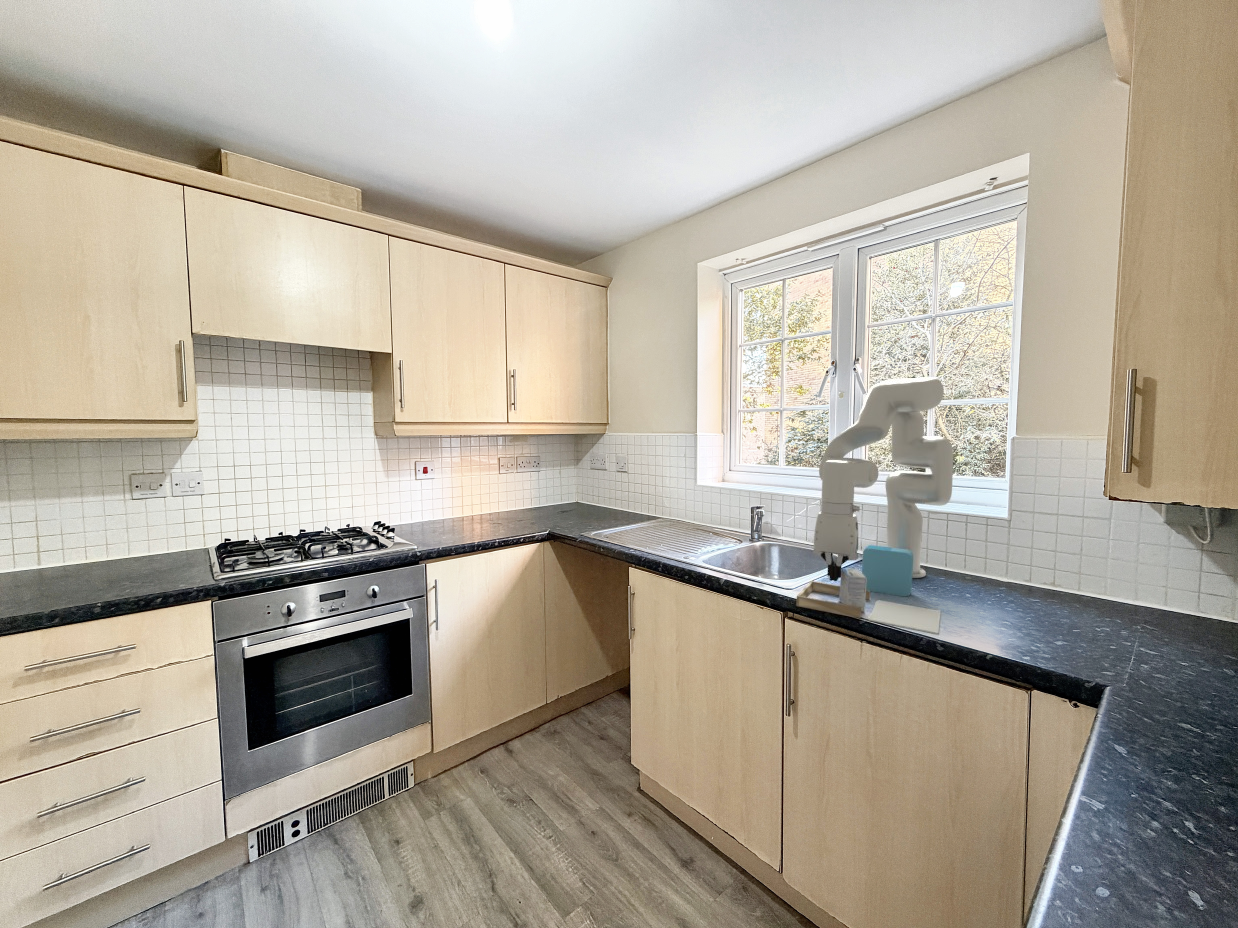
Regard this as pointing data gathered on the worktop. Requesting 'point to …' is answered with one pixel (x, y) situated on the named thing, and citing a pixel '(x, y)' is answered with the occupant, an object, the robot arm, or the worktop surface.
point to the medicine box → (853, 588)
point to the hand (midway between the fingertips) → (834, 579)
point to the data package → (888, 570)
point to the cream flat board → (906, 616)
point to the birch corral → (827, 605)
